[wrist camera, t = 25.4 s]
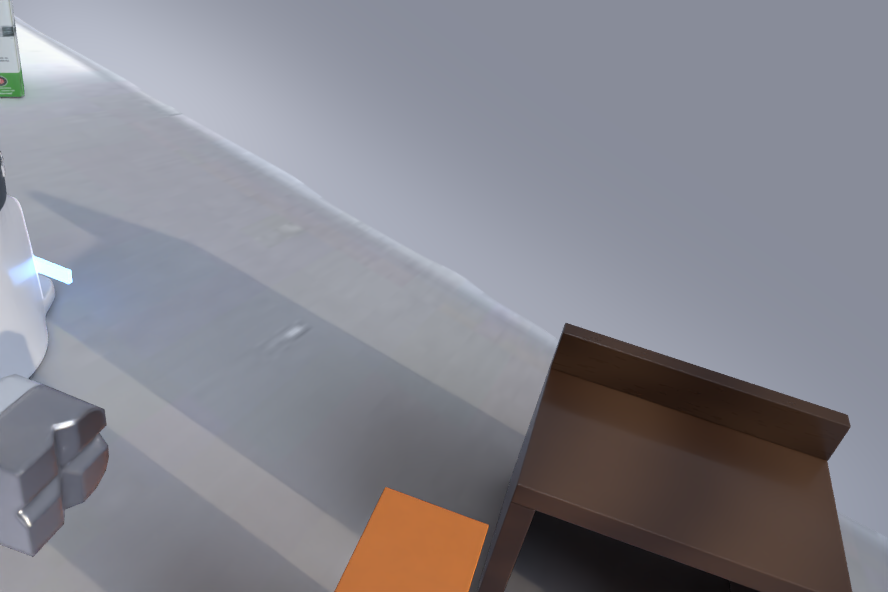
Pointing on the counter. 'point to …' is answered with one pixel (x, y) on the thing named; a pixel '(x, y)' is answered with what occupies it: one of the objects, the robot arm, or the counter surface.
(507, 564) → the brown wooden cabinet
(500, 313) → the counter surface
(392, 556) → the packet
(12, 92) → the ink box
